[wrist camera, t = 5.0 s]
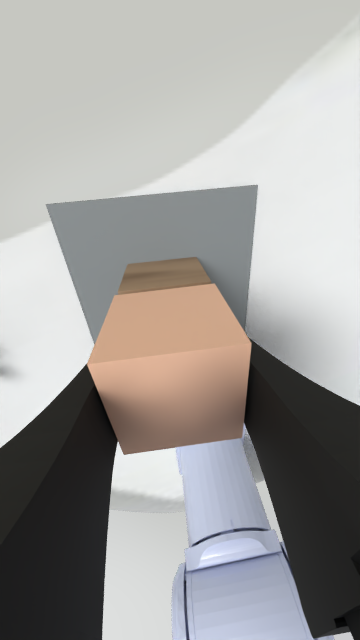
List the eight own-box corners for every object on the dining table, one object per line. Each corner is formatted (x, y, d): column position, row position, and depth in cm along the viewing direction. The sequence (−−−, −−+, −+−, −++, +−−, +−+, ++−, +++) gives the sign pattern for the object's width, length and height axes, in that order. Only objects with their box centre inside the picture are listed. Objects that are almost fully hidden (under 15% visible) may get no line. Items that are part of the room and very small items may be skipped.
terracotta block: (215, 359, 12) (242, 437, 8) (134, 370, 12) (123, 454, 8) (214, 283, 10) (251, 343, 6) (114, 295, 10) (86, 364, 6)
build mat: (241, 346, 19) (243, 348, 19) (102, 363, 19) (102, 366, 18) (255, 184, 13) (257, 185, 13) (48, 204, 12) (45, 204, 12)
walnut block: (198, 315, 17) (211, 353, 13) (139, 322, 17) (134, 363, 13) (196, 256, 15) (211, 281, 11) (127, 263, 14) (117, 291, 10)
